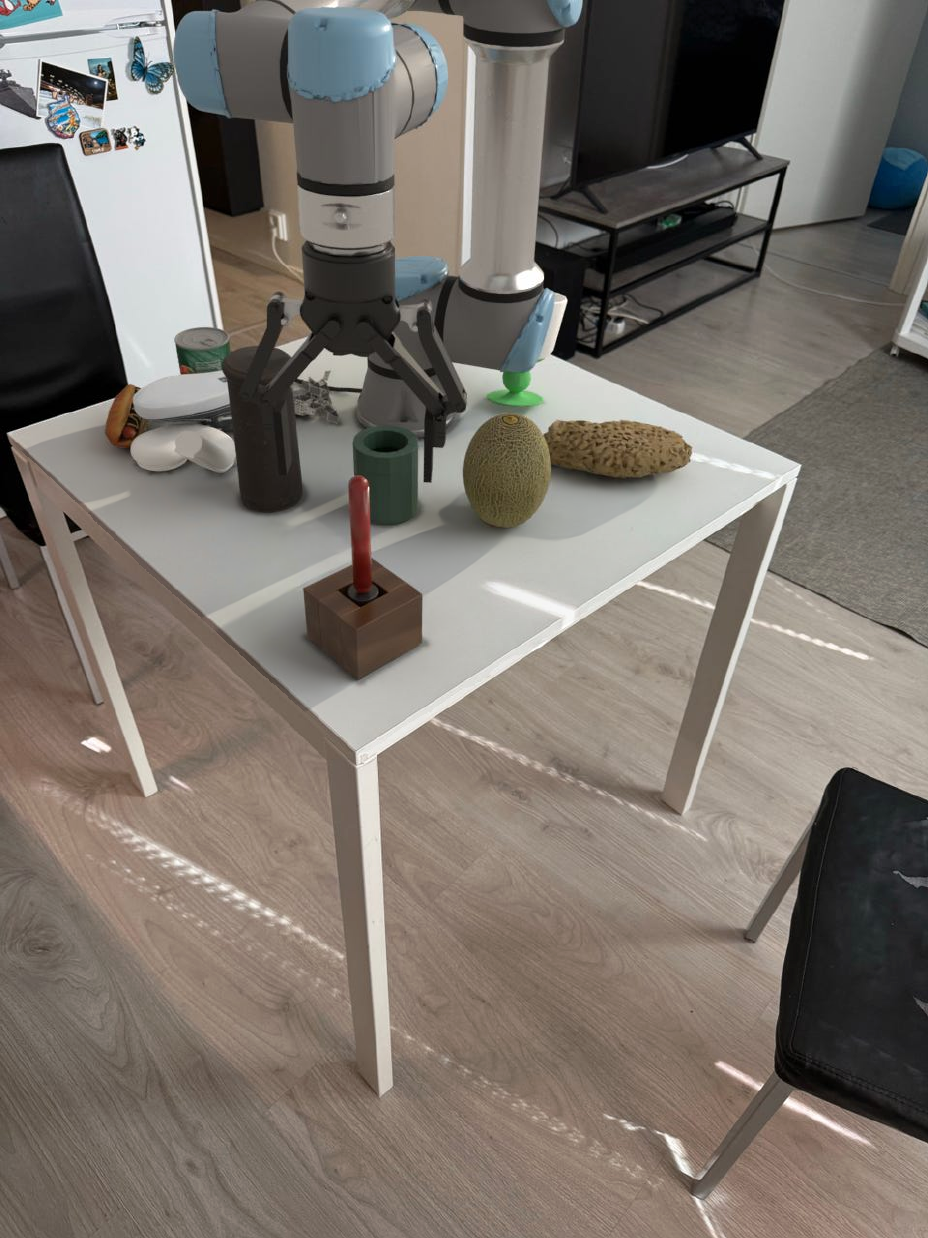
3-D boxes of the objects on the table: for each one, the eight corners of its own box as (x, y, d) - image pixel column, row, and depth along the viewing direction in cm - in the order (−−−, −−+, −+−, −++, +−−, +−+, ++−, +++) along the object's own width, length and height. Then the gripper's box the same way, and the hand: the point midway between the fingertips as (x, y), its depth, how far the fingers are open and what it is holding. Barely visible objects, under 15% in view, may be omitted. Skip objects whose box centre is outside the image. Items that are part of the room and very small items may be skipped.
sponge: (536, 480, 130) (673, 492, 121) (534, 426, 127) (675, 434, 118) (569, 456, 140) (697, 465, 132) (568, 405, 137) (700, 411, 128)
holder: (307, 637, 100) (302, 588, 96) (370, 604, 105) (369, 555, 101) (358, 680, 95) (355, 630, 91) (422, 643, 100) (422, 593, 96)
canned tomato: (175, 404, 140) (163, 336, 133) (217, 389, 145) (207, 322, 138) (206, 422, 136) (195, 352, 129) (248, 405, 141) (240, 337, 134)
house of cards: (334, 347, 138) (369, 373, 136) (326, 395, 145) (360, 420, 142) (290, 364, 133) (326, 391, 130) (284, 412, 139) (319, 439, 137)
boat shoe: (120, 384, 124) (126, 438, 129) (155, 410, 120) (159, 464, 125) (267, 351, 139) (267, 400, 144) (302, 373, 135) (300, 423, 140)
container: (316, 486, 124) (305, 346, 111) (285, 520, 118) (270, 376, 105) (260, 473, 126) (243, 334, 113) (226, 506, 119) (204, 362, 107)
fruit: (447, 505, 122) (450, 403, 112) (521, 489, 126) (530, 389, 116) (483, 551, 114) (490, 446, 104) (560, 533, 118) (574, 430, 108)
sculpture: (176, 430, 134) (166, 380, 129) (258, 457, 129) (252, 406, 124) (117, 466, 126) (104, 414, 120) (202, 496, 121) (193, 443, 116)
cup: (562, 392, 150) (572, 292, 142) (551, 414, 138) (561, 306, 130) (481, 384, 152) (487, 285, 144) (463, 405, 140) (468, 298, 132)
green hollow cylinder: (343, 505, 121) (339, 438, 114) (390, 484, 125) (389, 419, 119) (382, 532, 116) (381, 464, 110) (430, 509, 121) (431, 443, 114)
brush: (344, 639, 100) (334, 475, 87) (367, 627, 102) (360, 464, 88) (362, 654, 98) (355, 489, 85) (385, 641, 100) (381, 477, 87)
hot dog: (132, 417, 138) (157, 400, 137) (121, 463, 129) (149, 445, 127) (108, 393, 135) (134, 375, 134) (95, 437, 125) (123, 418, 124)
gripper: (180, 247, 70) (216, 485, 83) (503, 264, 70) (487, 499, 83) (204, 218, 75) (234, 445, 89) (502, 234, 76) (487, 458, 89)
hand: (356, 472), depth 86 cm, fingers open, 13 cm apart
